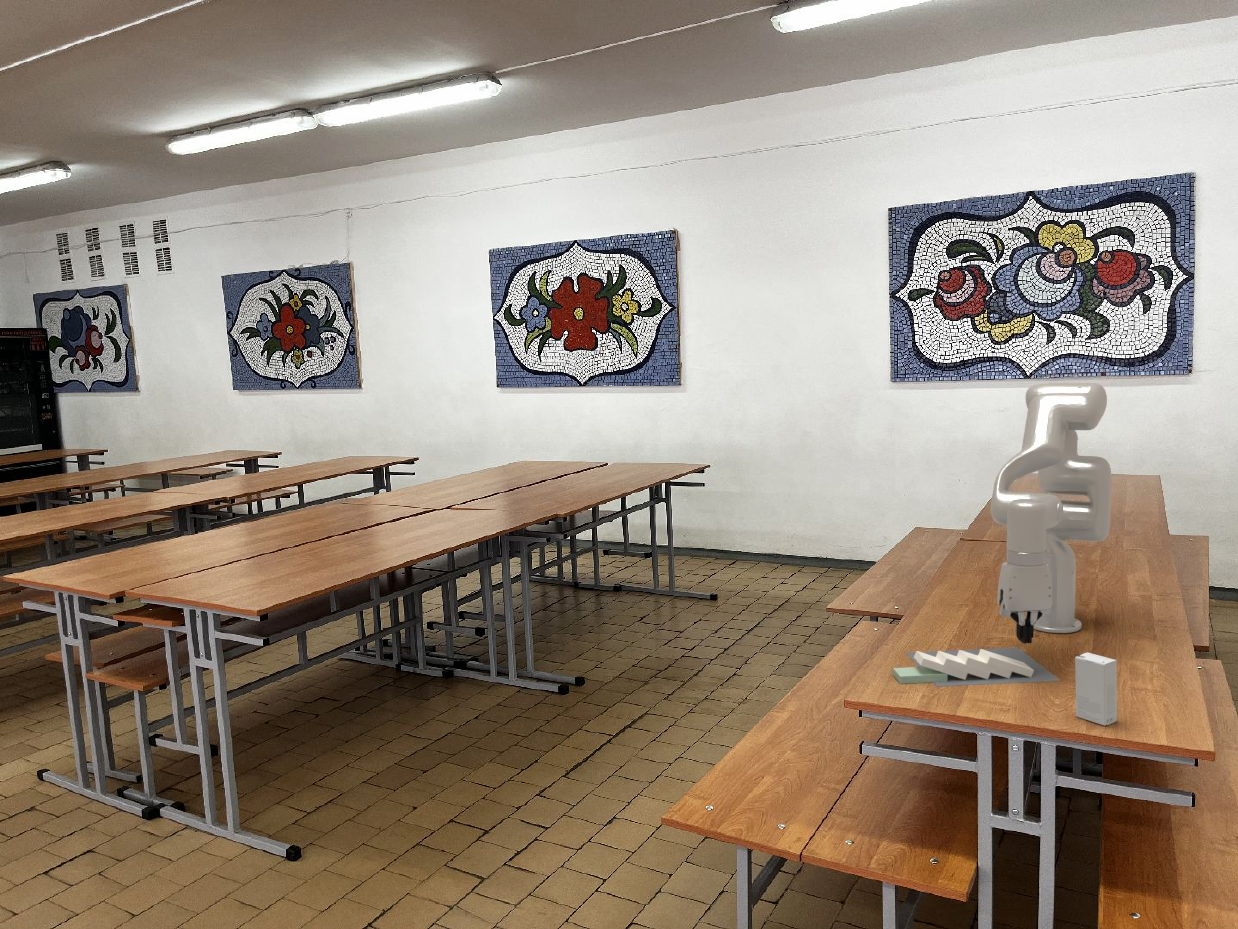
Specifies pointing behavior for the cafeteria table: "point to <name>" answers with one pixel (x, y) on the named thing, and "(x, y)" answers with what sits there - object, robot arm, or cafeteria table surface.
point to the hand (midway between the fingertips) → (1024, 641)
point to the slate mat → (1013, 653)
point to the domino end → (918, 675)
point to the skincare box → (1096, 688)
